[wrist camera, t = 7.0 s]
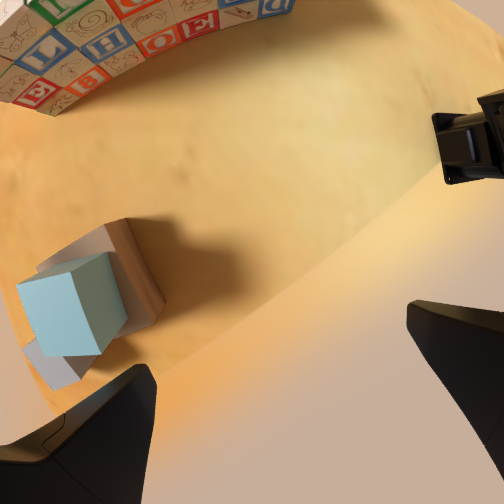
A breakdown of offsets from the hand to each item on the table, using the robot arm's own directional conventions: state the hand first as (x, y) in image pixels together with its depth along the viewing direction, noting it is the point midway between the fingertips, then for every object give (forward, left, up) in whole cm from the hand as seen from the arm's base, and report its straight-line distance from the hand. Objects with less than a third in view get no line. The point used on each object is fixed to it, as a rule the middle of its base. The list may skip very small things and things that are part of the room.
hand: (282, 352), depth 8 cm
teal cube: (+11, -1, -8) cm, 14 cm away
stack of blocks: (+3, -20, -12) cm, 24 cm away
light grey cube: (+18, +3, -12) cm, 22 cm away
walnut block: (+11, -1, -12) cm, 17 cm away
